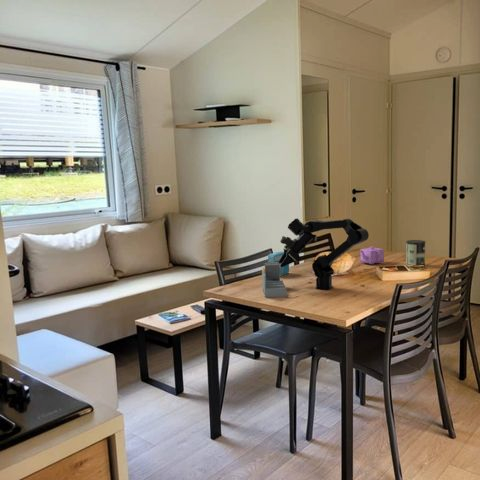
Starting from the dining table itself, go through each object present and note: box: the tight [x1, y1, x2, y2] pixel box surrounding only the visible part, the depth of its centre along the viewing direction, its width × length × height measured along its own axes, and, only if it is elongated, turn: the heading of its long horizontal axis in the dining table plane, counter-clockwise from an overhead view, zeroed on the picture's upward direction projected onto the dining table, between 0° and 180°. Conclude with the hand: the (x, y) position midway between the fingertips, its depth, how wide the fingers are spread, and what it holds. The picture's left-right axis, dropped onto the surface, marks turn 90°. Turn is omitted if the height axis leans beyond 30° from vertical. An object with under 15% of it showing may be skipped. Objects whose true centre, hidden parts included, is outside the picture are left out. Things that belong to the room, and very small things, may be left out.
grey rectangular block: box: [264, 262, 281, 281], centre depth 253 cm, size 7×3×12 cm, turn 91°
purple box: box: [359, 245, 385, 265], centre depth 303 cm, size 18×14×10 cm
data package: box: [267, 251, 290, 276], centre depth 281 cm, size 12×4×12 cm, turn 133°
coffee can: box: [405, 239, 426, 266], centre depth 291 cm, size 10×10×14 cm
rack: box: [261, 267, 288, 298], centre depth 241 cm, size 10×16×12 cm, turn 1°
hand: (279, 264), depth 253 cm, fingers open, 9 cm apart
